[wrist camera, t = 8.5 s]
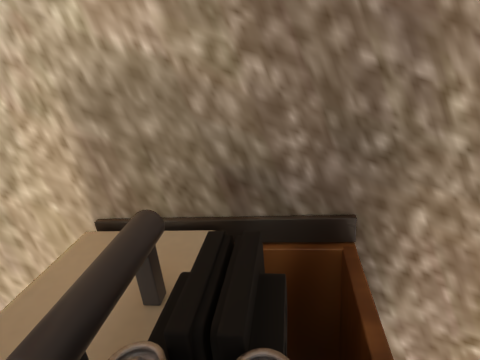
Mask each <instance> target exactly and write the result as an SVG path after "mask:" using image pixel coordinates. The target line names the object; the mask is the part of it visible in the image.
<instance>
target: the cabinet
mask: <svg viewBox="0 0 480 360" xmlns="http://www.w3.org/2000/svg"><path fill="white" fill-rule="evenodd" d="M162 219H163V221H164V224H165V229H164V231H194V230H215V231H226V232H227V235H232V236H233V239H234V244H235V240H236V237H237V235H242V234H243V231H261V233H262V242H263V254H264V267H265V273H275V274H286V286H287V357H288V358H289V360H394V359H393V356H392V353H391V350H390V347H389V345H388V342H387V339H386V336H385V333H384V330H383V327H382V324H381V321H380V318H379V315H378V312H377V309H376V306H375V303H374V300H373V297H372V294H371V291H370V288H369V285H368V282H367V280H366V277H365V274H364V271H363V268H362V265H361V262H360V259H359V256H358V253H357V249H356V246H355V243H354V242H355V241H356V222H357V218H356V216H355V215H324V216H265V217H205V218H162ZM130 220H131V219H97V220H96V221H95V226H96V229H97V231H121V230H122V229H123V228H124V226H125V225H126V224H127V223H128V222H129V221H130Z"/></svg>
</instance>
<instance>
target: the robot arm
mask: <svg viewBox="0 0 480 360" xmlns="http://www.w3.org/2000/svg"><path fill="white" fill-rule="evenodd" d="M108 360H289V358H288V357H287V286H286V274H275V273H265V267H264V254H263V242H262V233H261V231H243V234H242V235H237V237H236V240H235V244H234V239H233V236H232V235H227V232H226V231H208V233H207V235H206V237H205V240H204V242H203V244H202V246H201V249H200V251H199V253H198V255H197V258H196V260H195V262H194V264H193V267H192V269H191V271H190V272H182V273H181V274H180V275H179V277H178V279H177V281H176V283H175V285H174V287H173V289H172V291H171V293H170V296H169V298H168V300H167V302H166V304H165V306H164V308H163V310H162V312H161V314H160V316H159V318H158V320H157V322H156V324H155V326H154V328H153V330H152V332H151V335H150V337H149V339H148V341H139V342H134V343H131V344H129V345H126V346H124V347H122V348H121V349H119V350H118V351H117V352H115V353H114V354H113V355H112V356H111V357H110V358H109V359H108Z"/></svg>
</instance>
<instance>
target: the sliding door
mask: <svg viewBox="0 0 480 360" xmlns="http://www.w3.org/2000/svg"><path fill="white" fill-rule="evenodd" d="M164 229H165V224H164V221H163V219H162V217H161V216H160V215H159V214H157V213H156V212H154V211H151V210H141V211H139V212H137V213H136V214H135V215H134V216H133V218H132V219H131V220H130V221H129V222H128V223H127V224H126V225H125V226H124V228H123V229H122V230H121V231H95V232H85V233H84V234H83V235H82V236H81V237H80V238H79V239H78V240H77V241H76V242H75V243H74V244H73V245H72V246H70V247H69V248H68V249H67V250H66V251H65V252H64V253H63V254H62V255H61V256H60V257H59V258H58V259H57V260H55V261H54V262H53V263H52V264H51V265H50V266H49V267H48V268H47V269H46V270H45V271H44V272H43V273H42V274H40V275H39V276H38V277H37V278H36V279H35V280H34V281H33V282H32V283H31V284H30V285H29V286H28V287H26V288H25V289H24V290H23V291H22V292H21V293H20V294H19V295H18V296H17V297H16V298H15V299H14V300H13V301H11V302H10V303H9V304H8V305H7V306H6V307H5V308H4V309H3V310H2V311H1V312H0V360H108V359H109V358H110V357H111V356H112V355H113V354H114V353H115V352H117V351H118V350H119V349H121V348H122V347H124V346H126V345H129V344H131V343H134V342H139V341H148V339H149V337H150V335H151V332H152V330H153V328H154V326H155V324H156V322H157V320H158V318H159V316H160V314H161V312H162V310H163V308H164V306H165V304H166V302H167V300H168V298H169V296H170V293H171V291H172V289H173V287H174V285H175V283H176V281H177V279H178V277H179V275H180V274H181V273H182V272H190V271H191V269H192V267H193V264H194V262H195V260H196V258H197V255H198V253H199V251H200V249H201V246H202V244H203V242H204V240H205V237H206V235H207V233H208V231H215V230H194V231H164Z"/></svg>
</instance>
